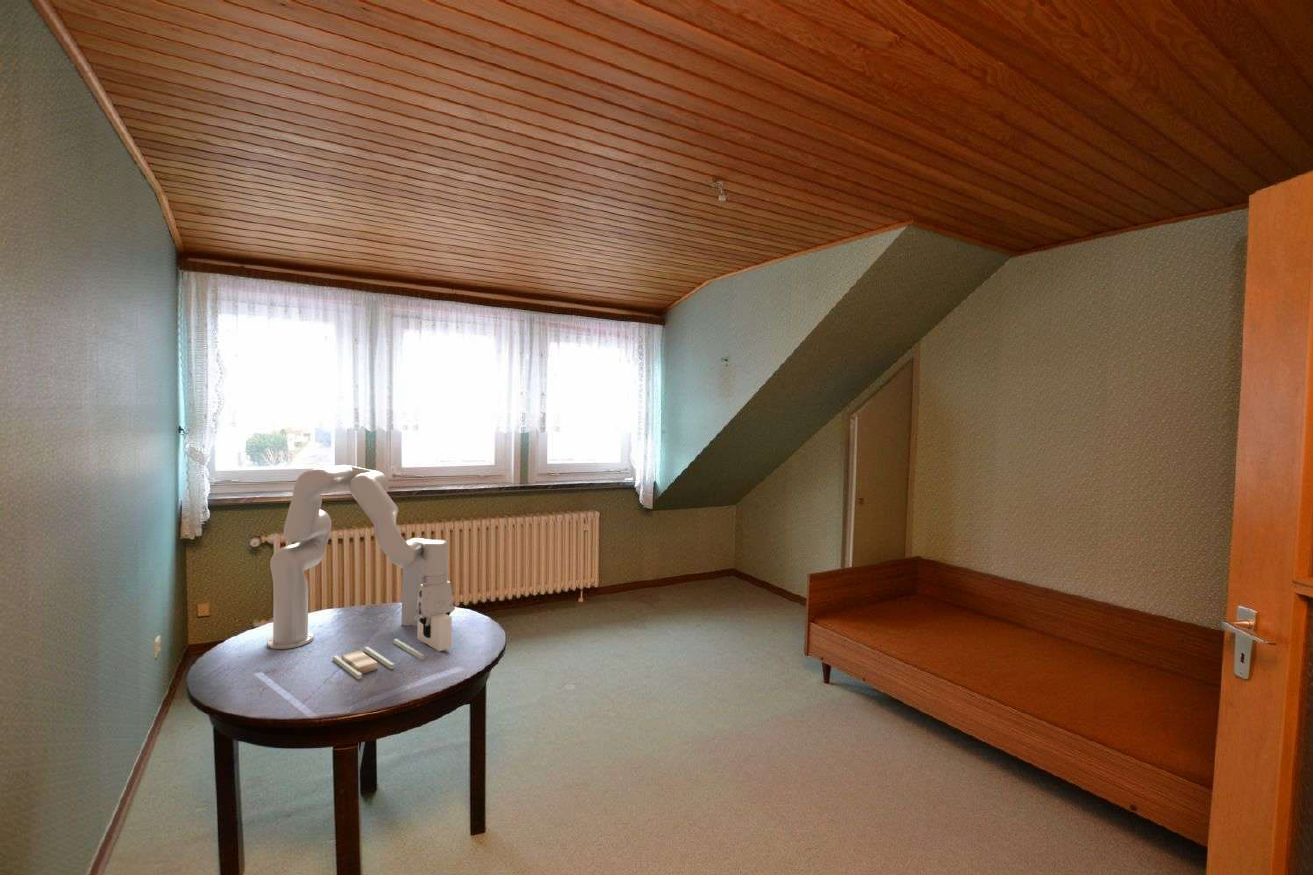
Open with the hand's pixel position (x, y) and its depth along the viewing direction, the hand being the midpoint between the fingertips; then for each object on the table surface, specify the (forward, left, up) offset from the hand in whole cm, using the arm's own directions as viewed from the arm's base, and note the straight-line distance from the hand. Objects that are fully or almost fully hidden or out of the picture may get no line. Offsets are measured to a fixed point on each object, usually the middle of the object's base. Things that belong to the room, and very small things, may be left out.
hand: (434, 634), depth 184 cm
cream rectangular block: (0, 0, -3) cm, 3 cm away
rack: (0, -17, -4) cm, 18 cm away
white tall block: (-22, +8, -4) cm, 24 cm away
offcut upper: (0, -23, -3) cm, 23 cm away
